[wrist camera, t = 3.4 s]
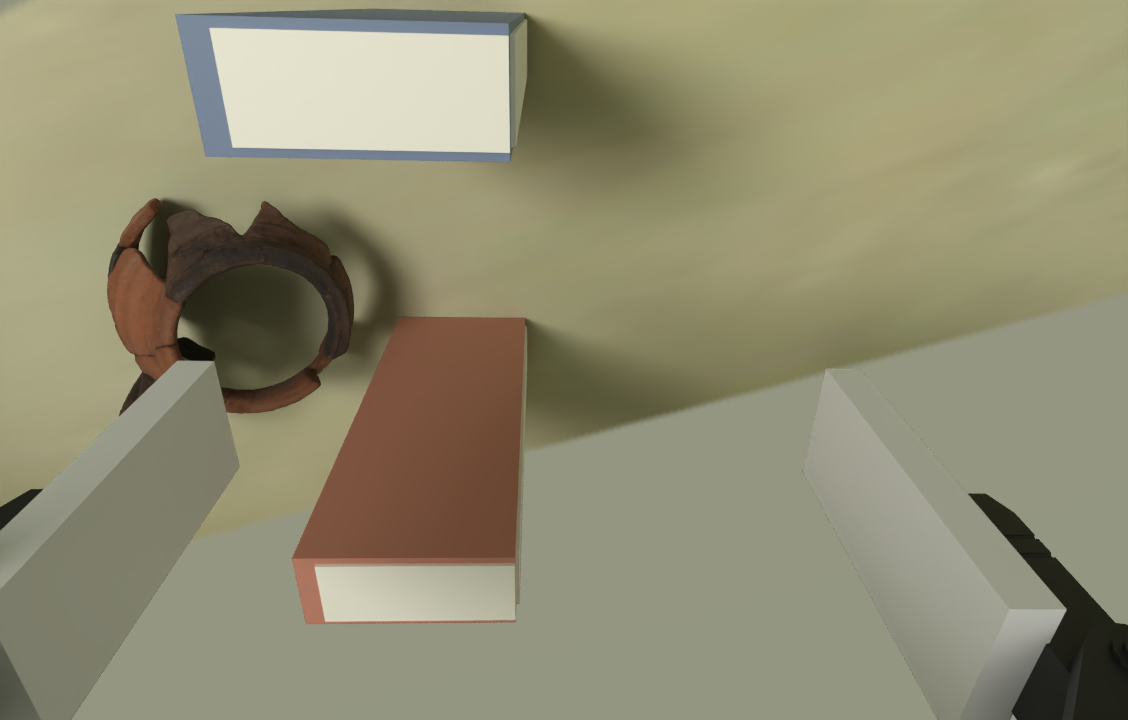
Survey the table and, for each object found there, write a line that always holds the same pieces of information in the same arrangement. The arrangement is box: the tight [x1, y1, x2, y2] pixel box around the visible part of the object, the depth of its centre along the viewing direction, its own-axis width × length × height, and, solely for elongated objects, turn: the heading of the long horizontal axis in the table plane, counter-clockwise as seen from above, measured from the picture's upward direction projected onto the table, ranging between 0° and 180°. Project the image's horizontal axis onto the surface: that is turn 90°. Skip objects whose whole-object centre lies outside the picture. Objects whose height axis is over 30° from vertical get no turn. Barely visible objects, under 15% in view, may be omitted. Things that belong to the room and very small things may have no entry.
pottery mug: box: [107, 199, 354, 416], centre depth 29 cm, size 12×9×8 cm
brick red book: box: [292, 317, 527, 624], centre depth 26 cm, size 6×2×16 cm, turn 89°
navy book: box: [175, 9, 527, 162], centre depth 20 cm, size 6×2×16 cm, turn 89°
